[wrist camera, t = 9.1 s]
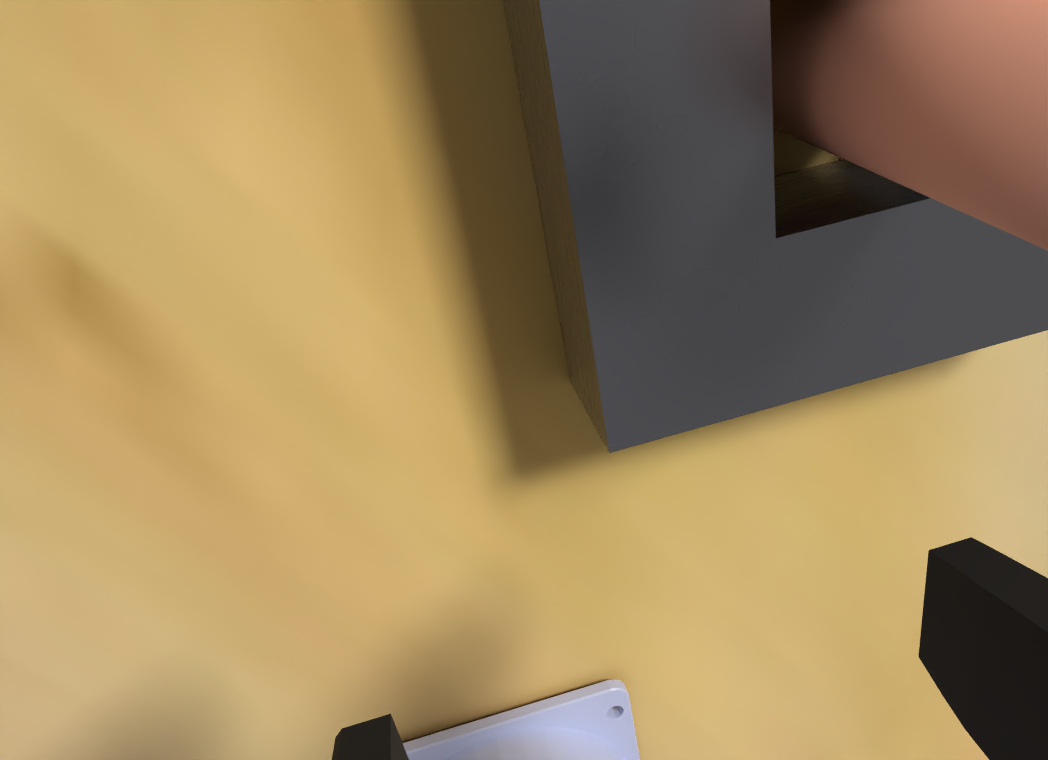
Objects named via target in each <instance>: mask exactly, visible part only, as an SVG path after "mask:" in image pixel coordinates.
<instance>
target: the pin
mask: <svg viewBox="0 0 1048 760" xmlns="http://www.w3.org/2000/svg"><path fill="white" fill-rule="evenodd" d="M770 23H771V64H772V105H773V127H774V128H776V129H778V130H780V131H783V132H785V133H787V134H789V135H792V136H794V137H796V138H798V139H800V140H803V141H805V142H807V143H809V144H812V145H814V146H816V147H818V148H820V149H823V150H825V151H827V152H829V153H832V154H834V155H836V156H838V157H840V158H843V159H845V160H847V161H849V162H852V163H854V164H856V165H858V166H861V167H863V168H865V169H867V170H869V171H872V172H874V173H876V174H878V175H881V176H883V177H885V178H887V179H889V180H892V181H894V182H896V183H898V184H901V185H903V186H905V187H907V188H909V189H912V190H914V191H916V192H918V193H921V194H923V195H925V196H927V197H930V198H932V199H934V200H936V201H938V202H941V203H943V204H945V205H947V206H950V207H952V208H954V209H956V210H958V211H961V212H963V213H965V214H967V215H970V216H972V217H974V218H976V219H978V220H981V221H983V222H985V223H987V224H990V225H992V226H994V227H996V228H999V229H1001V230H1003V231H1005V232H1007V233H1010V234H1012V235H1014V236H1016V237H1019V238H1021V239H1023V240H1025V241H1027V242H1030V243H1032V244H1034V245H1036V246H1039V247H1041V248H1043V249H1045V250H1047V251H1048V0H770Z"/></svg>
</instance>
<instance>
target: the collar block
mask: <svg viewBox="0 0 1048 760" xmlns="http://www.w3.org/2000/svg"><path fill="white" fill-rule="evenodd" d="M504 4H505V10H506V16H507V21H508V27H509V33H510V38H511V44H512V50H513V56H514V61H515V67H516V73H517V78H518V84H519V90H520V96H521V101H522V107H523V113H524V118H525V124H526V130H527V136H528V141H529V147H530V153H531V158H532V164H533V170H534V175H535V181H536V187H537V193H538V198H539V204H540V210H541V215H542V221H543V227H544V233H545V238H546V244H547V250H548V255H549V261H550V267H551V272H552V278H553V284H554V290H555V295H556V301H557V307H558V312H559V318H560V324H561V330H562V335H563V341H564V347H565V352H566V358H567V364H568V369H569V375H570V381H571V384H572V386H573V387H574V389H575V391H576V393H577V395H578V397H579V398H580V400H581V402H582V404H583V406H584V408H585V409H586V411H587V413H588V415H589V417H590V418H591V420H592V422H593V424H594V426H595V428H596V429H597V431H598V433H599V435H600V437H601V438H602V440H603V442H604V444H605V446H606V448H607V449H608V451H609V453H611V452H614V451H618V450H621V449H625V448H628V447H632V446H636V445H639V444H643V443H646V442H650V441H653V440H657V439H660V438H664V437H668V436H671V435H675V434H678V433H682V432H685V431H689V430H693V429H696V428H700V427H703V426H707V425H710V424H714V423H718V422H721V421H725V420H728V419H732V418H735V417H739V416H743V415H746V414H750V413H753V412H757V411H760V410H764V409H767V408H771V407H775V406H778V405H782V404H785V403H789V402H792V401H796V400H800V399H803V398H807V397H810V396H814V395H817V394H821V393H825V392H828V391H832V390H835V389H839V388H842V387H846V386H850V385H853V384H857V383H860V382H864V381H867V380H871V379H875V378H878V377H882V376H885V375H889V374H892V373H896V372H899V371H903V370H907V369H910V368H914V367H917V366H921V365H924V364H928V363H932V362H935V361H939V360H942V359H946V358H949V357H953V356H957V355H960V354H964V353H967V352H971V351H974V350H978V349H982V348H985V347H989V346H992V345H996V344H999V343H1003V342H1007V341H1010V340H1014V339H1017V338H1021V337H1024V336H1028V335H1031V334H1035V333H1039V332H1042V331H1046V330H1048V251H1047V250H1045V249H1043V248H1041V247H1039V246H1036V245H1034V244H1032V243H1030V242H1027V241H1025V240H1023V239H1021V238H1019V237H1016V236H1014V235H1012V234H1010V233H1007V232H1005V231H1003V230H1001V229H999V228H996V227H994V226H992V225H990V224H987V223H985V222H983V221H981V220H978V219H976V218H974V217H972V216H970V215H967V214H965V213H963V212H961V211H958V210H956V209H954V208H952V207H950V206H947V205H945V204H943V203H941V202H938V201H936V200H934V199H932V198H930V197H927V196H925V195H923V194H921V193H918V192H916V191H914V190H912V189H909V188H907V187H905V186H903V185H901V184H898V183H896V182H894V181H892V180H889V179H887V178H885V177H883V176H881V175H878V174H876V173H874V172H872V171H869V170H867V169H865V168H863V167H861V166H858V165H856V164H854V163H852V162H849V161H847V160H845V159H843V160H839V161H835V162H831V163H827V164H823V165H819V166H815V167H811V168H807V169H803V170H799V171H795V172H791V173H787V174H783V175H779V176H775V177H774V146H773V105H772V64H771V23H770V0H504Z"/></svg>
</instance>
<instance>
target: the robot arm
mask: <svg viewBox="0 0 1048 760" xmlns="http://www.w3.org/2000/svg"><path fill="white" fill-rule="evenodd" d="M919 658H920V660H921V661H922V663H923V664H924V666H925V668H926V669H927V671H928V672H929V674H930V676H931V677H932V679H933V681H934V682H935V684H936V685H937V687H938V689H939V690H940V692H941V693H942V695H943V697H944V698H945V700H946V701H947V703H948V704H949V706H950V707H951V709H952V710H953V712H954V713H955V715H956V716H957V718H958V719H959V721H960V722H961V724H962V725H963V727H964V728H965V730H966V731H967V732H968V733H969V735H970V736H971V737H972V738H973V740H974V741H975V742H976V744H977V745H978V746H979V747H980V749H981V750H982V751H983V752H984V754H985V755H986V756H987V757H988V758H989V760H1048V578H1046V577H1044V576H1042V575H1041V574H1039V573H1037V572H1035V571H1033V570H1031V569H1030V568H1028V567H1026V566H1024V565H1022V564H1020V563H1019V562H1017V561H1015V560H1013V559H1011V558H1009V557H1008V556H1006V555H1004V554H1002V553H1000V552H998V551H996V550H995V549H993V548H991V547H989V546H987V545H985V544H983V543H981V542H979V541H977V540H975V539H973V538H968V539H964V540H961V541H958V542H955V543H951V544H948V545H945V546H941V547H938V548H935V549H932V550H929V553H928V564H927V574H926V585H925V595H924V606H923V616H922V627H921V637H920V648H919ZM332 760H640V757H639V751H638V745H637V739H636V733H635V728H634V722H633V716H632V710H631V704H630V699H629V694H628V691H627V689H626V687H625V685H624V683H623V682H621V681H620V680H614V679H612V680H606V681H603V682H600V683H597V684H593V685H590V686H587V687H584V688H580V689H577V690H574V691H571V692H567V693H564V694H561V695H558V696H554V697H551V698H548V699H545V700H541V701H538V702H535V703H532V704H528V705H525V706H522V707H519V708H515V709H512V710H509V711H506V712H502V713H499V714H496V715H493V716H489V717H486V718H483V719H480V720H476V721H473V722H470V723H467V724H463V725H460V726H457V727H454V728H450V729H447V730H444V731H441V732H437V733H434V734H431V735H428V736H424V737H421V738H418V739H415V740H411V741H408V742H405V743H402V741H401V738H400V736H399V733H398V731H397V728H396V726H395V723H394V721H393V718H392V716H391V714H389V715H385V716H382V717H379V718H375V719H372V720H369V721H366V722H362V723H359V724H356V725H352V726H349V727H346V728H342V729H341V731H340V732H339V734H338V735H337V736H336V738H335V744H334V750H333V756H332Z"/></svg>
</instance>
